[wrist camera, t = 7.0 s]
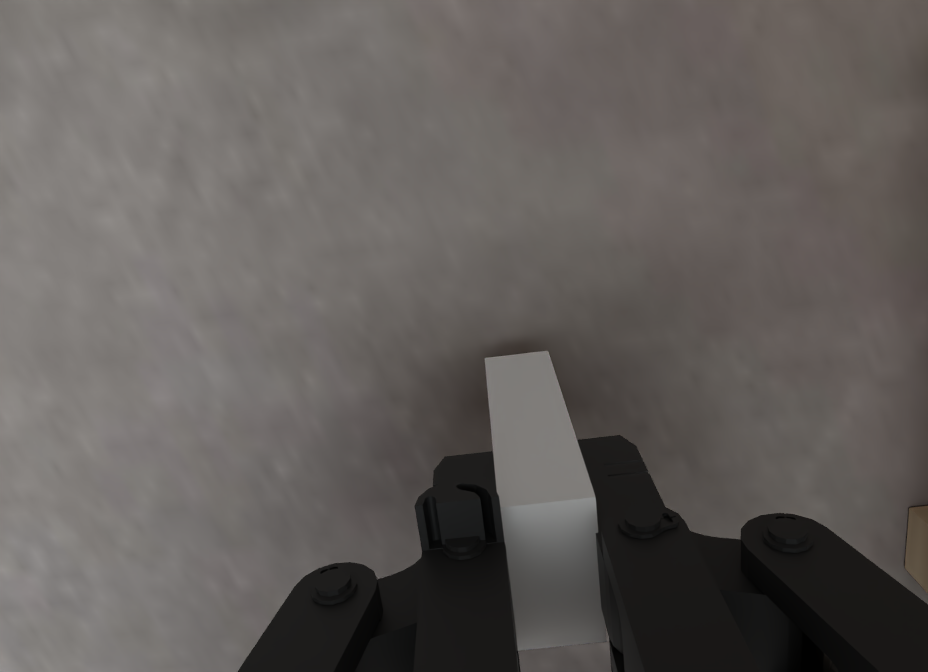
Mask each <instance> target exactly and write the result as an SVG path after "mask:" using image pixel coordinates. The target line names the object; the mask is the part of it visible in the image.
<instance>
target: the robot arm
mask: <svg viewBox="0 0 928 672" xmlns="http://www.w3.org/2000/svg"><path fill="white" fill-rule="evenodd" d="M485 369H486V380H487V390H488V401H489V412H490V423H491V434H492V445H493V451H491V452H483V453H474V454H465V455H456V456H447V457H444V459H443V460H442V461H441V462H440V464H439V465H438V466H437V467H436V469H435V470H434V478H433V487H432V488H430V489H428V490H427V491H425V492H424V493H423V494H422V495H421V496H419V498H418V500H417V502H416V504H415V510H416V516H417V523H418V529H419V535H420V541H421V547H422V558H421V559H419V560H418V561H417V562H416V563H415V564H414V565H412V566H410V567H409V568H407V569H405V570H403V571H401V572H398V573H396V574H393V575H391V576H387V577H384V578H381V579H378V580H377V578H376V576H375V573H374V571H373V570H371V569H369V568H368V567H366V566H365V565H362V564H357V563H351V562H348V563H336V564H331V565H328V566H324V567H322V568H319V569H317V570H315V571H313V572H312V573H310V574H308V575H306V576H305V577H304V578H303V579H302V580H301V581H300V582H299V583H298V584H297V585H296V586H295V587H294V588H293V590H292V591H291V593H290V594H289V596H288V597H287V599H286V600H285V602H284V603H283V605H282V606H281V608H280V609H279V611H278V612H277V614H276V615H275V617H274V618H273V620H272V621H271V623H270V624H269V626H268V627H267V629H266V630H265V632H264V633H263V635H262V636H261V638H260V639H259V641H258V642H257V644H256V645H255V647H254V648H253V650H252V651H251V653H250V654H249V656H248V657H247V658H246V660H245V661H244V663H243V664H242V666H241V667H240V669H239V670H238V672H520V664H519V656H518V651H522V650H532V649H541V648H551V647H561V646H570V645H580V644H590V643H599V642H607V641H606V628H607V631H608V635H609V642H610V656H611V669H612V672H928V604H926V603H925V602H924V601H922V600H921V599H920V598H918V597H917V596H916V595H915V594H913V593H912V592H911V591H909V590H908V589H907V588H905V587H904V586H903V585H901V584H900V583H899V582H897V581H896V580H895V579H894V578H892V577H891V576H890V575H888V574H887V573H886V572H884V571H883V570H882V569H880V568H879V567H878V566H876V565H875V564H874V563H873V562H871V561H870V560H869V559H867V558H866V557H865V556H863V555H862V554H861V553H859V552H858V551H857V550H856V549H854V548H853V547H852V546H850V545H849V544H848V543H846V542H845V541H844V540H842V539H841V538H840V537H838V536H837V535H836V534H835V533H833V532H832V531H831V530H829V529H828V528H827V527H825V526H823V525H821V524H819V523H818V522H816V521H814V520H812V519H809V518H805V517H802V516H798V515H794V514H784V513H775V514H768V515H760V516H758V517H756V518H754V519H751V520H749V521H748V522H747V523H746V524H745V525H744V526H743V527H742V528H741V540H739V539H728V538H717V537H711V536H704V535H701V534H698V533H694V532H691V531H690V530H689V528H688V526H687V524H686V523H685V521H684V520H683V519H682V518H681V517H680V515H679V514H678V513H676V512H674V511H672V510H670V509H668V508H666V507H665V506H664V503H663V501H662V499H661V497H660V495H659V493H658V491H657V489H656V487H655V485H654V483H653V481H652V478H651V476H650V474H648V470H647V468H646V466H645V464H644V462H643V460H642V458H641V455H640V453H639V451H638V449H637V447H636V446H635V445H634V444H632V443H631V442H629V441H628V440H626V439H625V438H623V437H622V436H620V435H617V436H608V437H599V438H590V439H582V440H577V438H576V435H575V432H574V429H573V426H572V423H571V420H570V417H569V414H568V411H567V407H566V404H565V401H564V398H563V395H562V392H561V389H560V386H559V383H558V380H557V377H556V374H555V371H554V367H553V364H552V361H551V358H550V355H549V352H548V351H540V352H532V353H523V354H515V355H506V356H497V357H489V358H485ZM605 624H606V628H605Z"/></svg>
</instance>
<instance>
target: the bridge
mask: <svg viewBox="0 0 928 672" xmlns="http://www.w3.org/2000/svg"><path fill="white" fill-rule="evenodd" d="M905 569H906V570H907V571H908V572H909V573H910V574H911V576H912V577H913V578H914V579H915V580H916V581H917V582H918V583H919V584H920V585H921V587H922V588H923V589H924V590H925V591H926V592H927V593H928V506H920V507H911V508H909V518H908V531H907V544H906V557H905Z"/></svg>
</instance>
